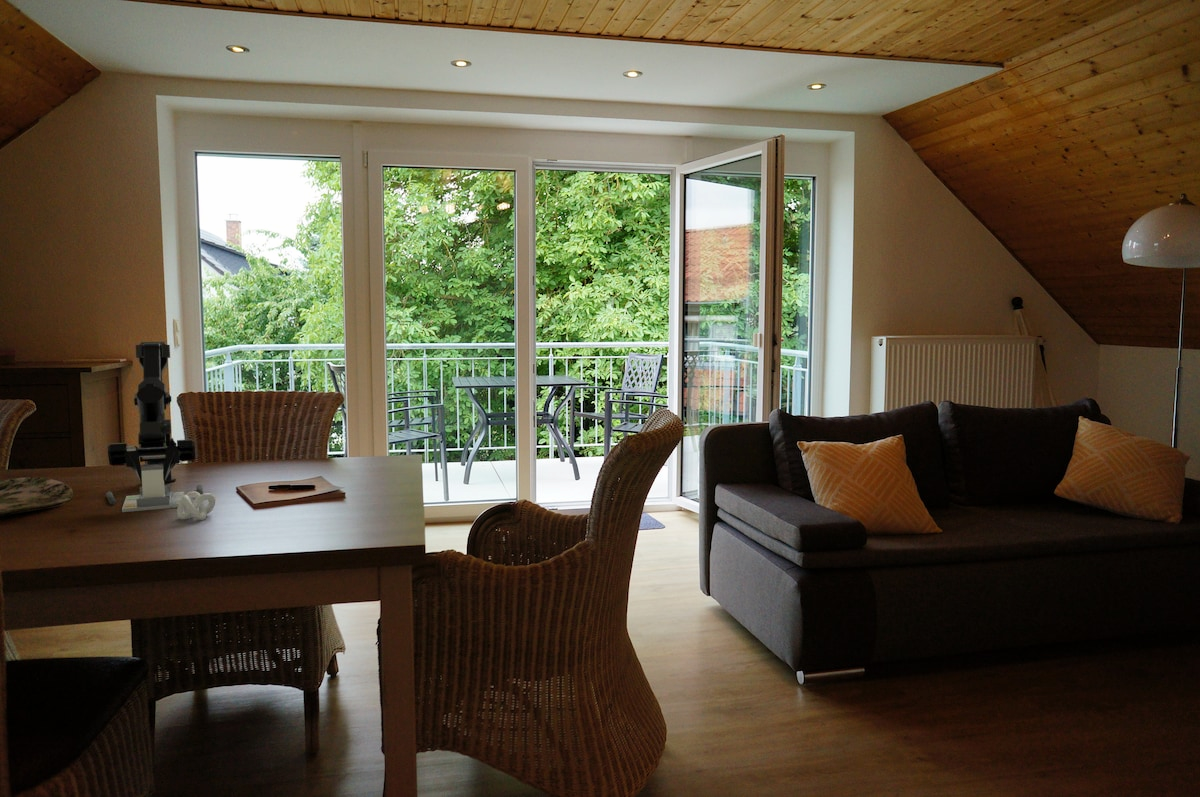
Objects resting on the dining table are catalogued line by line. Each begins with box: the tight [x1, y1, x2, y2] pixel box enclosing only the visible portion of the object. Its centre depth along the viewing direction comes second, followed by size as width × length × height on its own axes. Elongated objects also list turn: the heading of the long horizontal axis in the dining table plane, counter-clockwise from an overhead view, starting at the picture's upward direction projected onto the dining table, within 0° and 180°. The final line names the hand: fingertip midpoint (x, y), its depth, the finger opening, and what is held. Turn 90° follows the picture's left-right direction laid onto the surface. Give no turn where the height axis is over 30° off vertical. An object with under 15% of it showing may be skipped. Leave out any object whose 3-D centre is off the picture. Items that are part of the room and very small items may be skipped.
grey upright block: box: [141, 464, 165, 498], centre depth 203 cm, size 4×4×9 cm
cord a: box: [196, 484, 204, 495], centre depth 218 cm, size 12×1×1 cm, turn 26°
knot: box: [176, 490, 216, 521], centre depth 192 cm, size 8×8×6 cm
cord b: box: [105, 491, 117, 506], centre depth 209 cm, size 12×1×1 cm, turn 34°
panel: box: [121, 484, 185, 513], centre depth 207 cm, size 16×13×3 cm
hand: (152, 480), depth 202 cm, fingers closed on grey upright block, 4 cm apart
